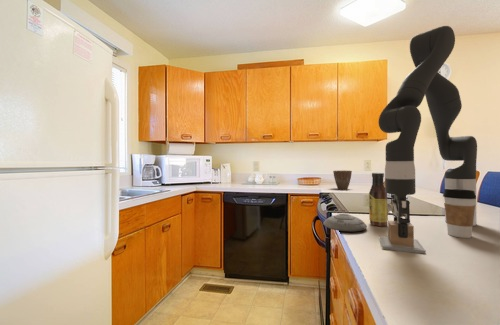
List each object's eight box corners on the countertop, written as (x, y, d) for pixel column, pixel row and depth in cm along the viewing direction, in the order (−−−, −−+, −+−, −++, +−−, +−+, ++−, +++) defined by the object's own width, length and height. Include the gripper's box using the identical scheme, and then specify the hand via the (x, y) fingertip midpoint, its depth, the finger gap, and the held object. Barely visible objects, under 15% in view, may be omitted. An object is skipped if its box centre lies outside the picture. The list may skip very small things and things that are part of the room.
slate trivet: (379, 238, 79) (379, 235, 79) (417, 242, 75) (417, 239, 75) (382, 249, 70) (382, 245, 70) (425, 253, 66) (425, 250, 66)
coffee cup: (437, 233, 84) (436, 188, 84) (453, 230, 87) (453, 187, 87) (466, 240, 76) (465, 191, 76) (483, 237, 79) (482, 189, 79)
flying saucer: (348, 237, 82) (348, 220, 82) (314, 227, 95) (314, 212, 94) (376, 230, 89) (375, 214, 89) (341, 221, 102) (341, 208, 102)
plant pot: (353, 190, 205) (353, 171, 205) (334, 190, 209) (334, 171, 209) (350, 188, 220) (350, 170, 220) (332, 188, 223) (332, 170, 223)
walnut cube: (388, 238, 76) (388, 220, 76) (409, 240, 74) (409, 221, 74) (390, 244, 71) (390, 224, 71) (413, 246, 69) (413, 226, 69)
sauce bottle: (371, 221, 100) (371, 172, 100) (389, 224, 96) (388, 172, 96) (367, 225, 95) (366, 172, 95) (385, 227, 91) (385, 173, 91)
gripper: (420, 179, 64) (421, 242, 64) (410, 175, 77) (410, 228, 77) (387, 178, 67) (388, 239, 67) (382, 175, 80) (383, 226, 80)
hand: (400, 233), depth 72 cm, fingers open, 8 cm apart
